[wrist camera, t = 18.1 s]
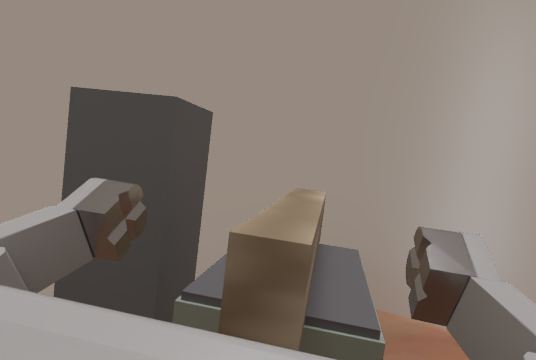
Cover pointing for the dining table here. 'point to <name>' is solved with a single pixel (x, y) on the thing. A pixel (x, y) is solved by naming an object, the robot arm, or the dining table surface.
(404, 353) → the dining table surface
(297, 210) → the bar
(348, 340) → the grey block
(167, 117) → the pedestal
